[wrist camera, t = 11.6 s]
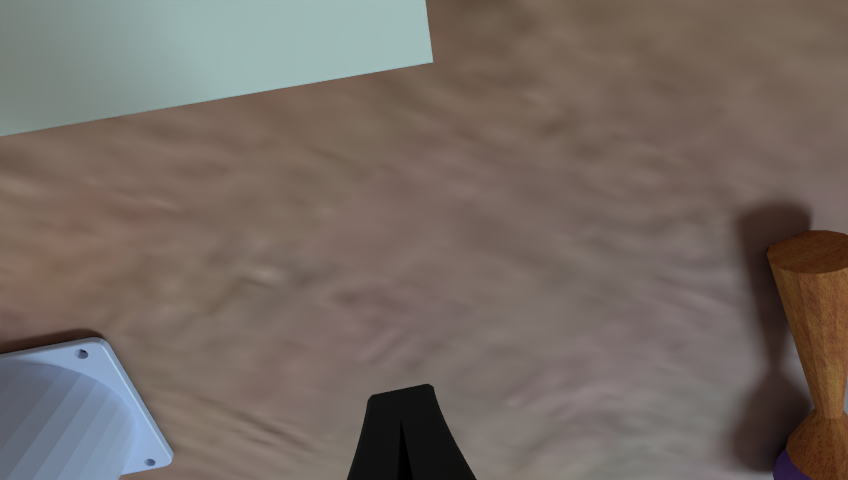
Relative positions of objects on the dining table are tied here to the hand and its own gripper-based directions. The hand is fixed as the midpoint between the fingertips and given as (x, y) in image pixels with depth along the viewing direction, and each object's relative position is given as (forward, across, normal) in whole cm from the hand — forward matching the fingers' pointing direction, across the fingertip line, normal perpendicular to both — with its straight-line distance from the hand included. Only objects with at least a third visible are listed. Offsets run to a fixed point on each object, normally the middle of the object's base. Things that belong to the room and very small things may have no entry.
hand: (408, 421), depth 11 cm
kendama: (+11, -20, +15) cm, 27 cm away
